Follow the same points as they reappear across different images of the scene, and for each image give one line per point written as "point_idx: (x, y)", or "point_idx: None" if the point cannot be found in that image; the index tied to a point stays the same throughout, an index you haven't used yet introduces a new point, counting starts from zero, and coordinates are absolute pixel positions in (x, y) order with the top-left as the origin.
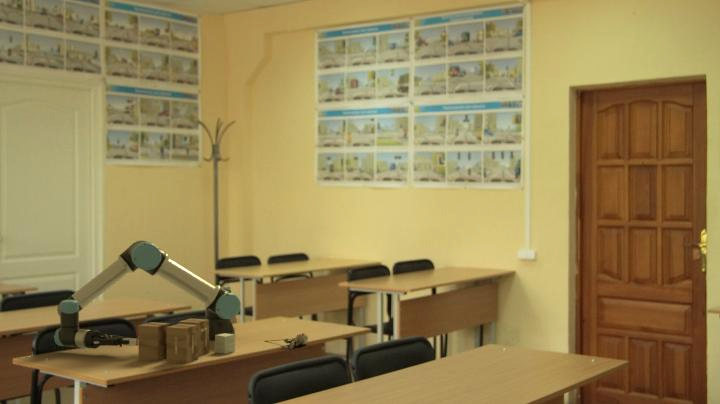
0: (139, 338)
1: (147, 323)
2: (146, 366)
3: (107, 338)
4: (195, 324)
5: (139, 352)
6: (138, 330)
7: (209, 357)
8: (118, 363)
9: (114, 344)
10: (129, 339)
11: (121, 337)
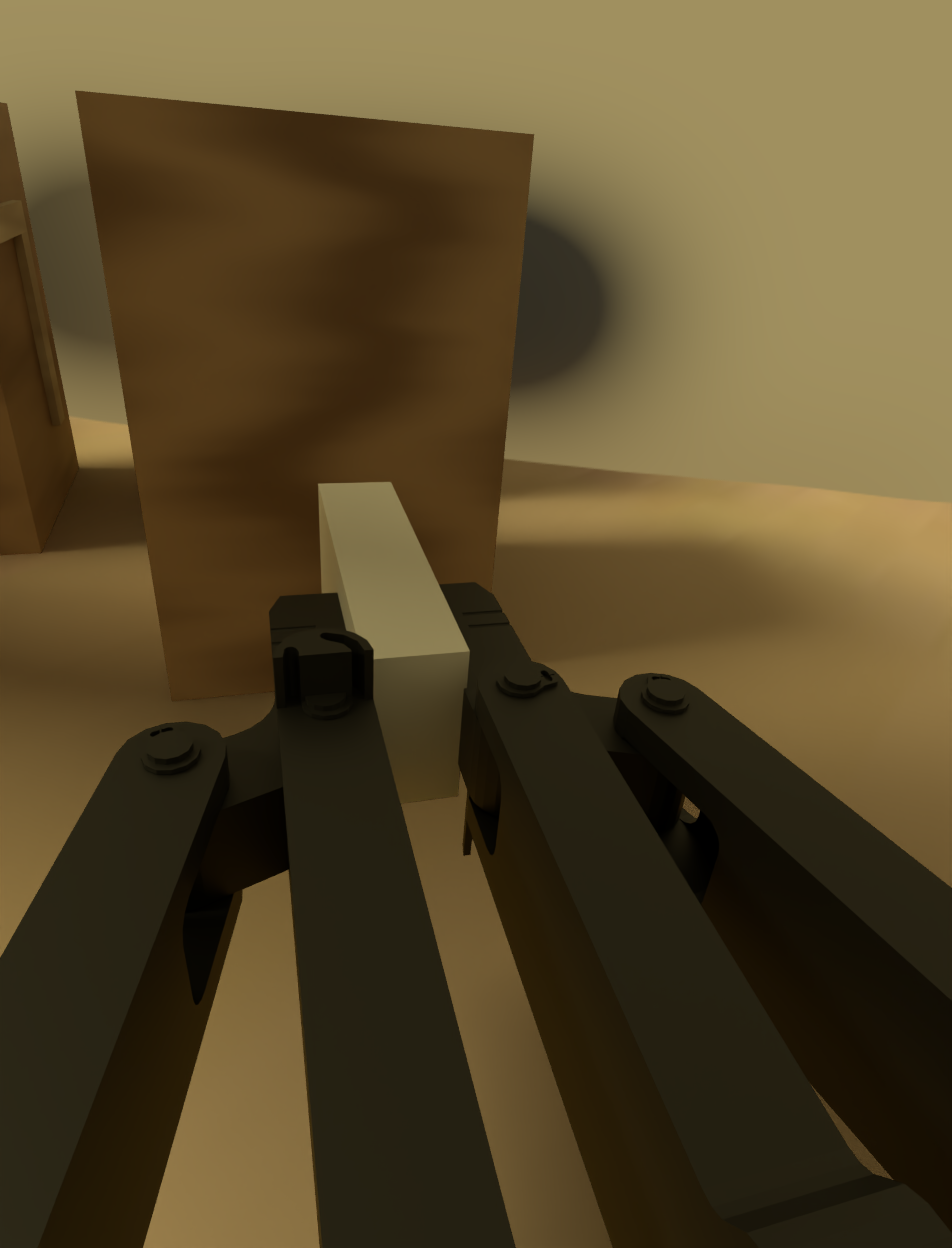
0: (505, 376)
1: (268, 110)
2: (631, 524)
3: (835, 1133)
4: (5, 128)
5: (487, 575)
6: (523, 239)
7: (85, 434)
8: (789, 713)
9: (695, 822)
10: (420, 560)
11: (290, 803)
